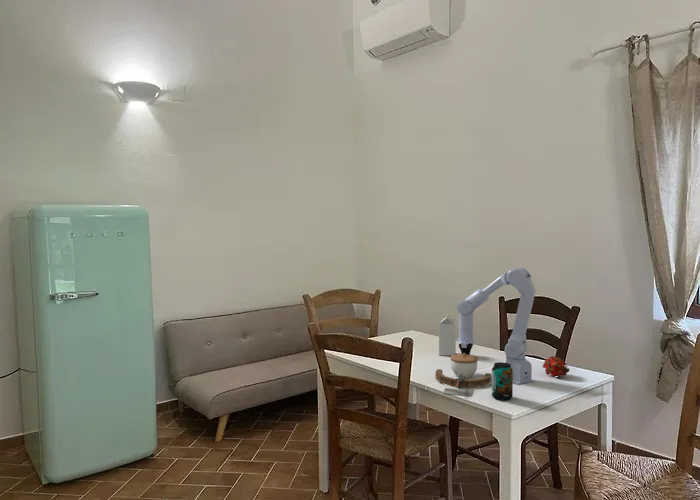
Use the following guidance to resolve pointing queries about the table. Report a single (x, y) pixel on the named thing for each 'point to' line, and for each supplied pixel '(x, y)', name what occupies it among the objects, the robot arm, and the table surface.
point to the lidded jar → (464, 365)
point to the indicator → (459, 380)
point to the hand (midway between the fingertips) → (465, 361)
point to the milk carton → (447, 336)
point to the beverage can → (502, 381)
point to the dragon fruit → (555, 366)
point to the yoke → (466, 383)
